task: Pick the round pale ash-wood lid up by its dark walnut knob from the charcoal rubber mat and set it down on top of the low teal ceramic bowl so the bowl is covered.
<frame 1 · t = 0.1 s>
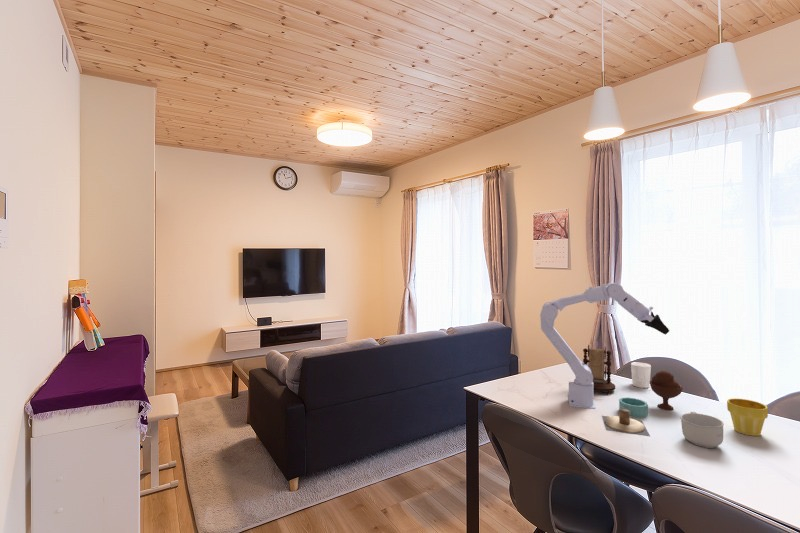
hand: (664, 330, 145), 32 cm above the table, tool tilted 50°, fingers open, 7 cm apart
plant pot: (746, 432, 131), on the table
bowl: (633, 413, 147), on the table
ice cream bowl: (665, 408, 152), on the table
lid: (624, 425, 136), resting on mat
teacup: (700, 442, 124), on the table
white cup: (640, 386, 179), on the table
mat: (624, 426, 136), on the table
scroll: (596, 389, 175), on the table
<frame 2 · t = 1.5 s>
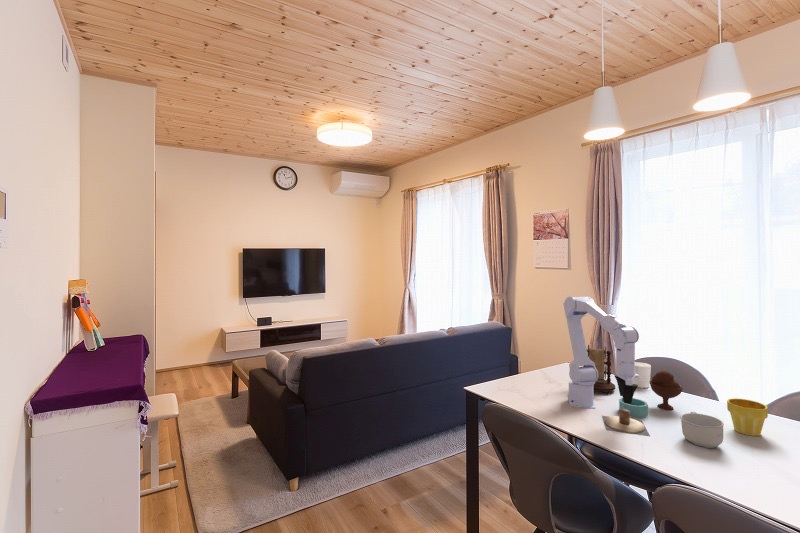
hand: (625, 399, 136), 10 cm above the table, tool pointing down, fingers open, 7 cm apart
nothing on the table moved.
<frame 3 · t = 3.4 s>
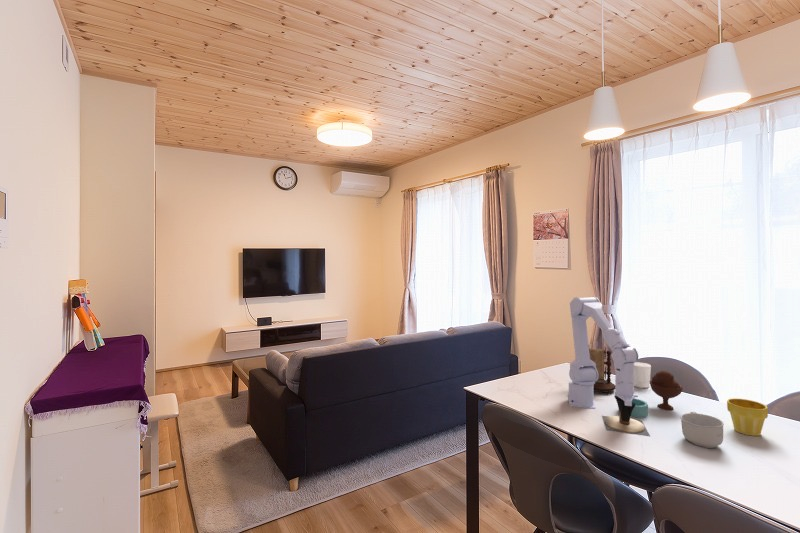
hand: (624, 419, 136), 3 cm above the table, tool pointing down, fingers closed on lid, 3 cm apart
lid: (624, 425, 136), resting on mat, touching gripper
everything else where it was.
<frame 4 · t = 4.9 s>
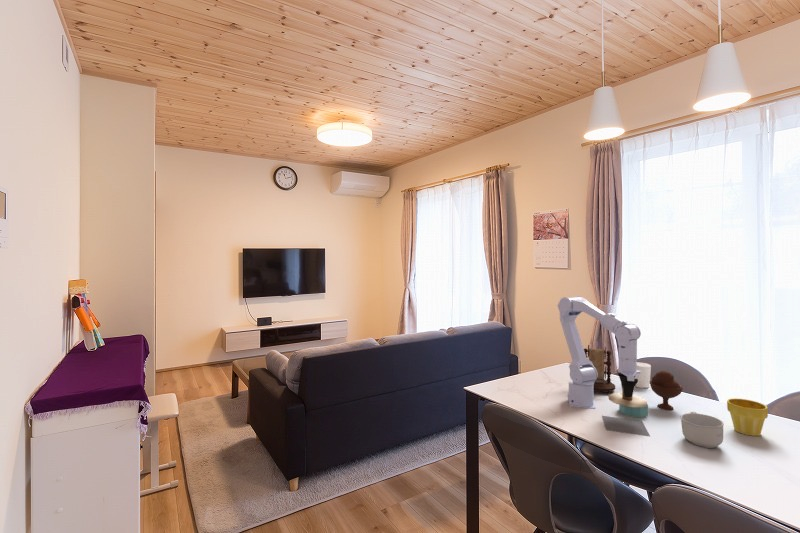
hand: (627, 395, 139), 10 cm above the table, tool pointing down, fingers closed on lid, 3 cm apart
lid: (627, 401, 139), point 8 cm above the table, touching gripper
everything else where it was.
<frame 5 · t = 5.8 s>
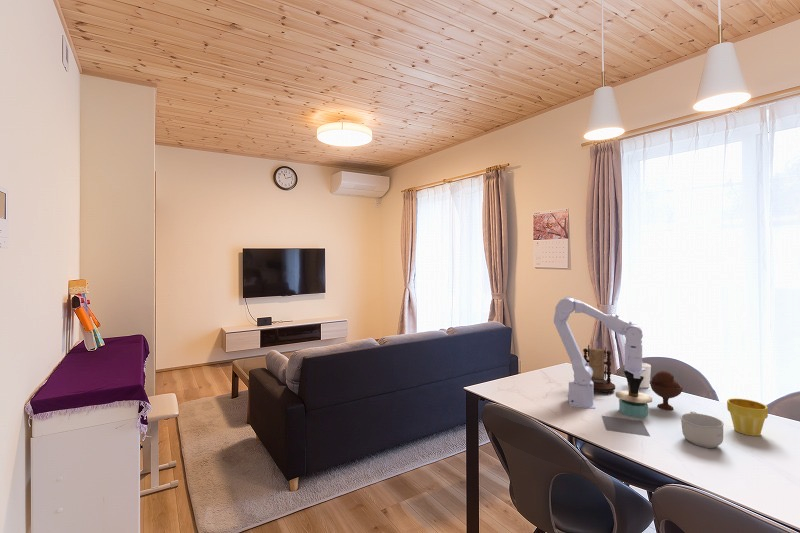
hand: (633, 391, 147), 8 cm above the table, tool pointing down, fingers closed on lid, 3 cm apart
lid: (633, 397, 147), point 6 cm above the table, touching gripper
everything else where it was.
when the fingers open (8 cm above the table, at t = 6.6 s): lid drops 1 cm, resting on bowl.
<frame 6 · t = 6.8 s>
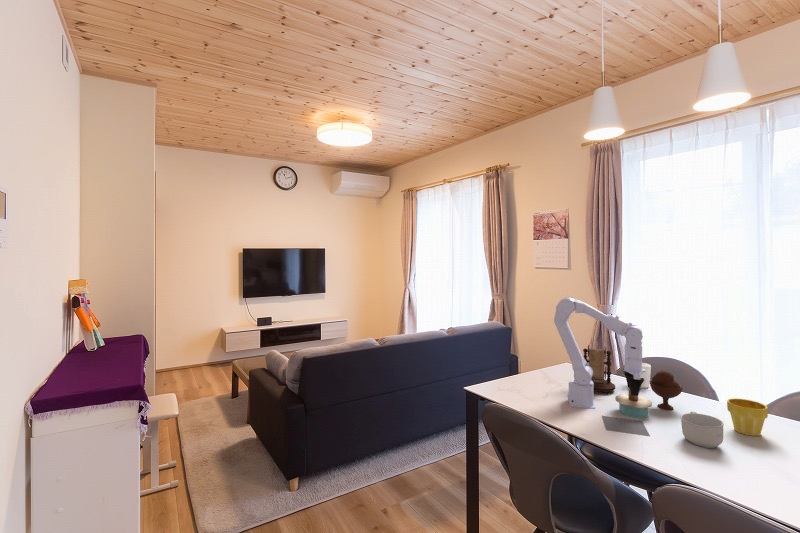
hand: (633, 392, 147), 8 cm above the table, tool pointing down, fingers open, 5 cm apart
bowl: (633, 413, 147), on the table, touching lid
lid: (633, 401, 147), point 4 cm above the table, touching bowl
everything else where it was.
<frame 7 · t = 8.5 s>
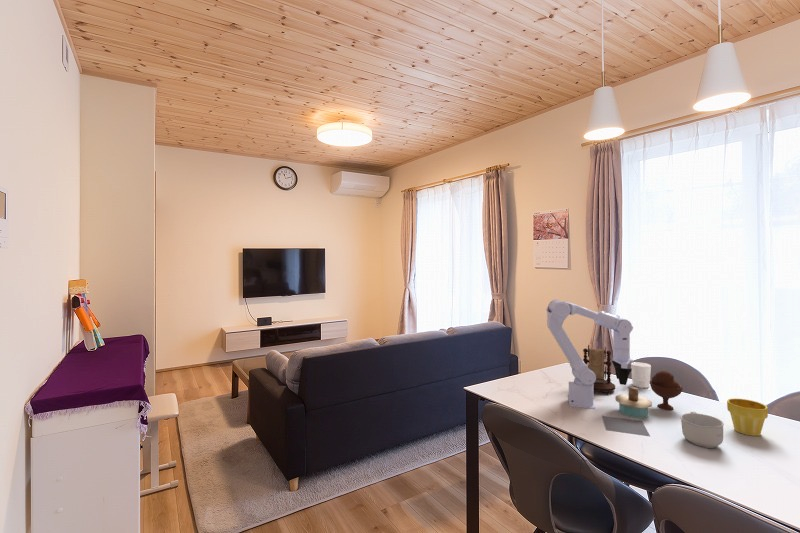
hand: (621, 381, 154), 10 cm above the table, tool pointing down, fingers open, 7 cm apart
nothing on the table moved.
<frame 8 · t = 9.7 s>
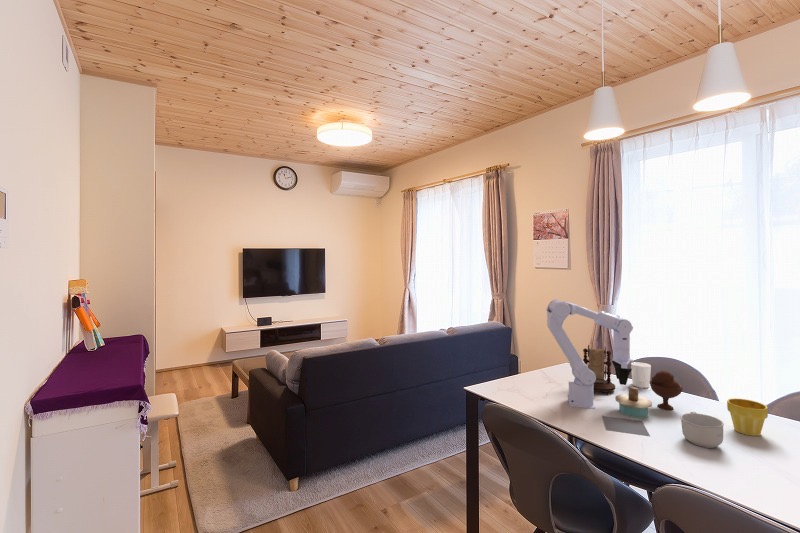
hand: (621, 381, 154), 10 cm above the table, tool pointing down, fingers open, 7 cm apart
nothing on the table moved.
at the end: lid 0.1 cm off-centre on the bowl, point 4.5 cm above the bowl's base; lid tilted 0°; the gripper is holding nothing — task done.
